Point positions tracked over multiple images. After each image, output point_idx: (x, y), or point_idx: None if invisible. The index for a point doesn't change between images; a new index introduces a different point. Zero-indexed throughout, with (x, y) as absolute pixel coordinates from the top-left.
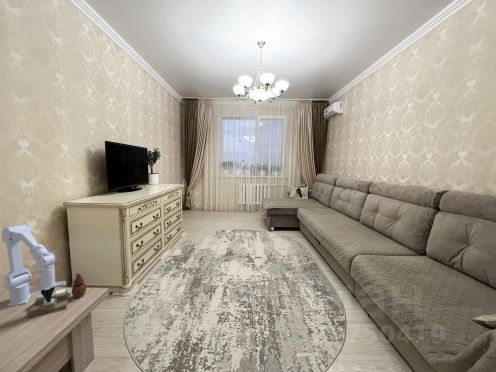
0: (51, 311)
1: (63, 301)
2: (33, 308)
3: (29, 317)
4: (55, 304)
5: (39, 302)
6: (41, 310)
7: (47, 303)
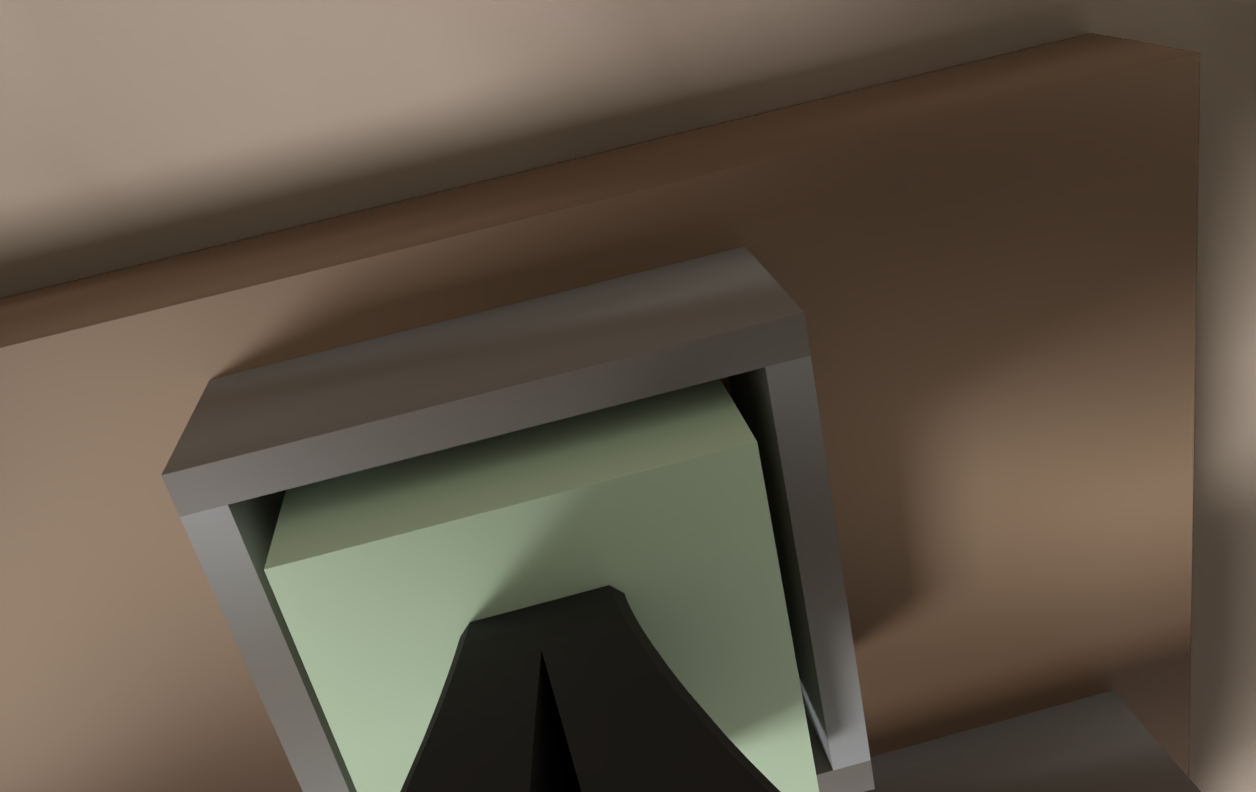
0: (323, 230)
1: (68, 769)
2: (1112, 490)
3: (1063, 40)
4: None
5: (1022, 785)
6: (732, 247)
7: (545, 499)
